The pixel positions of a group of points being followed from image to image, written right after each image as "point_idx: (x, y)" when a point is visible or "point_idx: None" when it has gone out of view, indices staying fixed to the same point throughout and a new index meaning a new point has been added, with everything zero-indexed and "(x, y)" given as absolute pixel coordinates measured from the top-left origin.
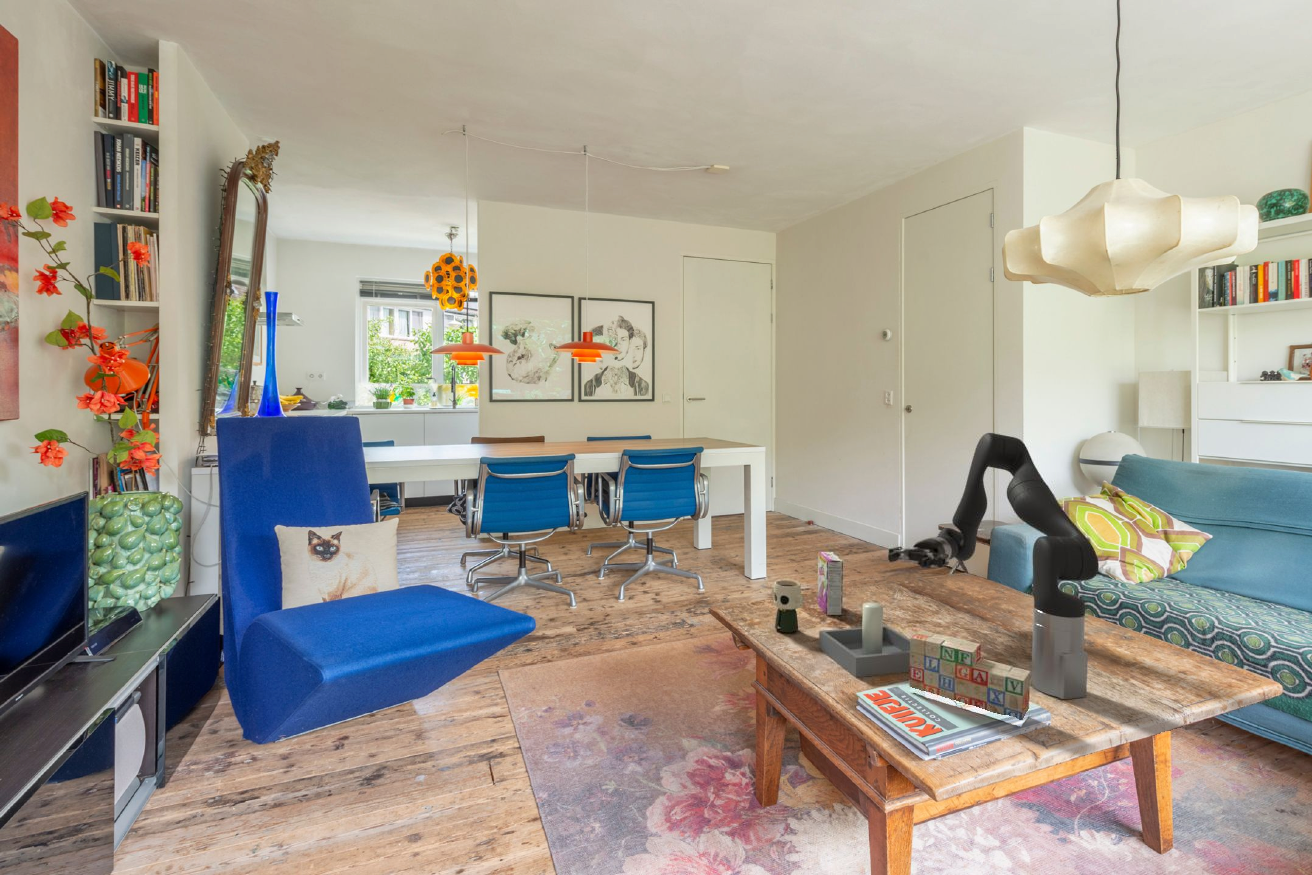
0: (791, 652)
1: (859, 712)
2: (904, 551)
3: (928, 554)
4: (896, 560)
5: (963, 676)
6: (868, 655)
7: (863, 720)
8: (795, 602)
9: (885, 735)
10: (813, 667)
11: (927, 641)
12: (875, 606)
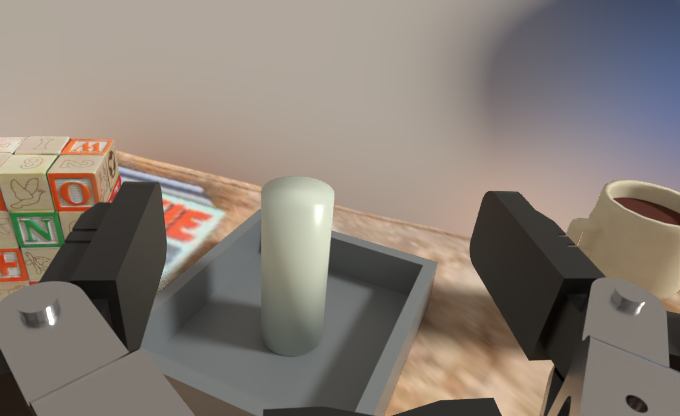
0: (438, 255)
1: (190, 182)
2: (578, 362)
3: (119, 360)
4: (512, 330)
5: None
6: (244, 228)
7: (175, 173)
8: (584, 245)
9: (132, 165)
10: (350, 235)
11: (64, 137)
12: (286, 191)
